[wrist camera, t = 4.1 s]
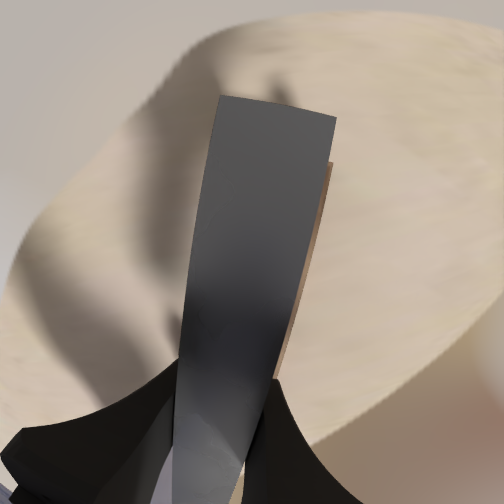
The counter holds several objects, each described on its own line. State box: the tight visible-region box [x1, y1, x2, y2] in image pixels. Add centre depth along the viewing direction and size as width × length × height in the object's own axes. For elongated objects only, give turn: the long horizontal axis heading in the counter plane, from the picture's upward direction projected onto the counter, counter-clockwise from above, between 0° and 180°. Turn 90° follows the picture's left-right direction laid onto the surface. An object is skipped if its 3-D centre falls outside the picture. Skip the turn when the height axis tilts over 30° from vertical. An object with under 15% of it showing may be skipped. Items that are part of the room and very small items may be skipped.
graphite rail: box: [172, 95, 337, 504], centre depth 9 cm, size 18×2×2 cm, turn 169°
